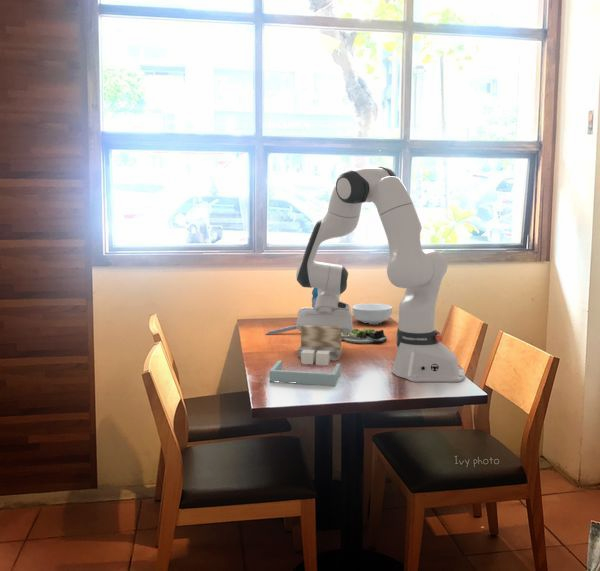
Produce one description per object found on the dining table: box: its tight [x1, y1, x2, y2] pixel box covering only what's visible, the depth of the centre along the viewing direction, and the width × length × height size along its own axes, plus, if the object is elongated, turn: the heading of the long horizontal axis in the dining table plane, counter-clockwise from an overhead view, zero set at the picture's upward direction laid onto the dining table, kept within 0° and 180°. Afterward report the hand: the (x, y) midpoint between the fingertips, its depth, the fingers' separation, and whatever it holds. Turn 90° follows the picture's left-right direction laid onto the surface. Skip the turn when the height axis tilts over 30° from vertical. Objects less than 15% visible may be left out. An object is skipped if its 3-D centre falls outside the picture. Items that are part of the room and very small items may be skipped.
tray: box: [269, 359, 341, 387], centre depth 199 cm, size 20×12×4 cm, turn 79°
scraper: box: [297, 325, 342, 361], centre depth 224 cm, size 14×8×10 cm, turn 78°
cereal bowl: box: [351, 302, 393, 325], centre depth 278 cm, size 17×17×7 cm
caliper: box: [264, 324, 298, 335], centre depth 258 cm, size 20×1×6 cm, turn 99°
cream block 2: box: [315, 350, 331, 366], centre depth 215 cm, size 4×4×4 cm
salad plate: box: [341, 328, 387, 344], centre depth 249 cm, size 19×18×5 cm
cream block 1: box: [300, 350, 316, 365], centre depth 216 cm, size 4×4×4 cm
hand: (322, 341), depth 228 cm, fingers closed, pressing on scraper
